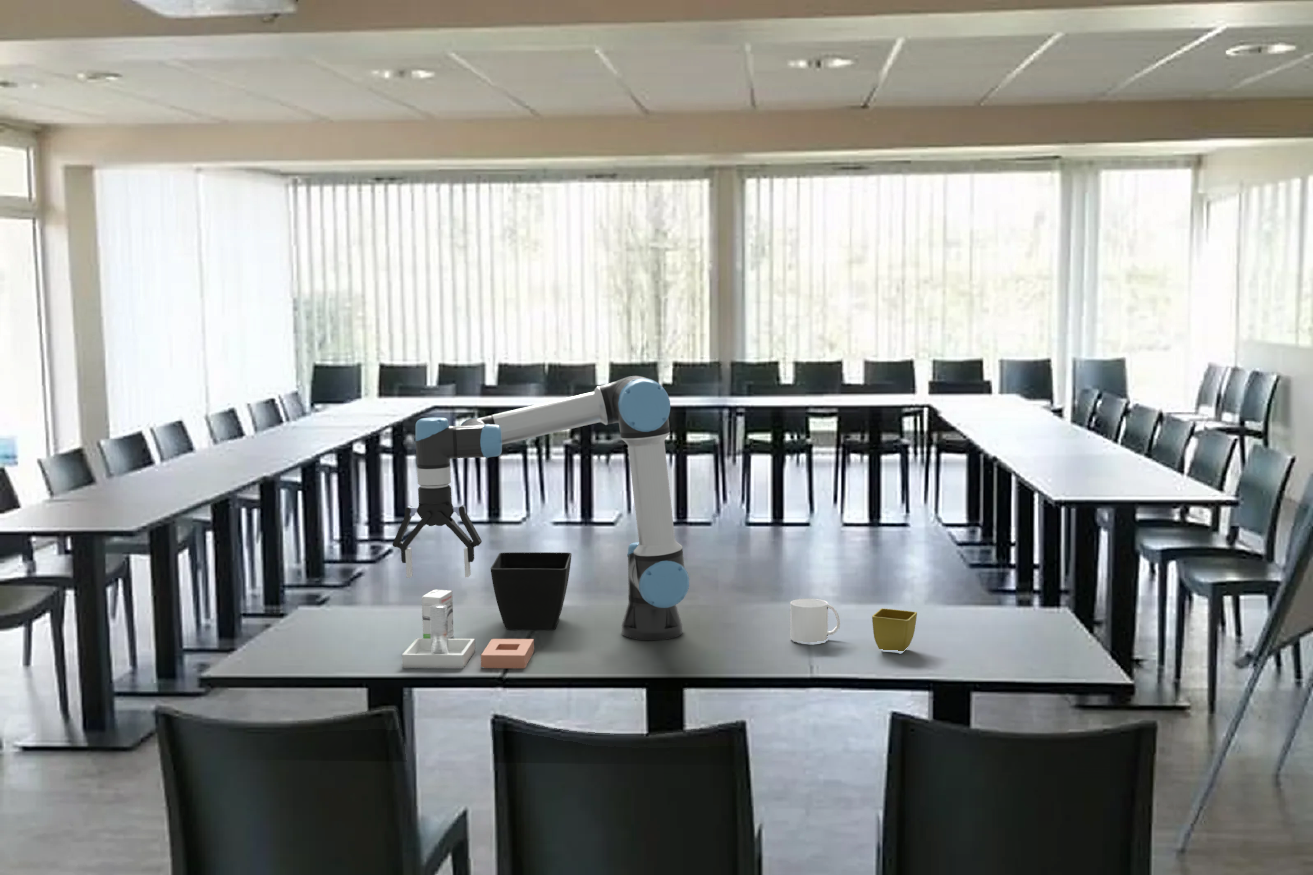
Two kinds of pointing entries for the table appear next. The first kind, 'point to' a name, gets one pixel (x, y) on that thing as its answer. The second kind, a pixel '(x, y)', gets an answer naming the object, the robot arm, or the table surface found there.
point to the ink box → (437, 599)
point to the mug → (810, 620)
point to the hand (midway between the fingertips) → (438, 576)
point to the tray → (422, 657)
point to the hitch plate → (507, 653)
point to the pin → (439, 629)
